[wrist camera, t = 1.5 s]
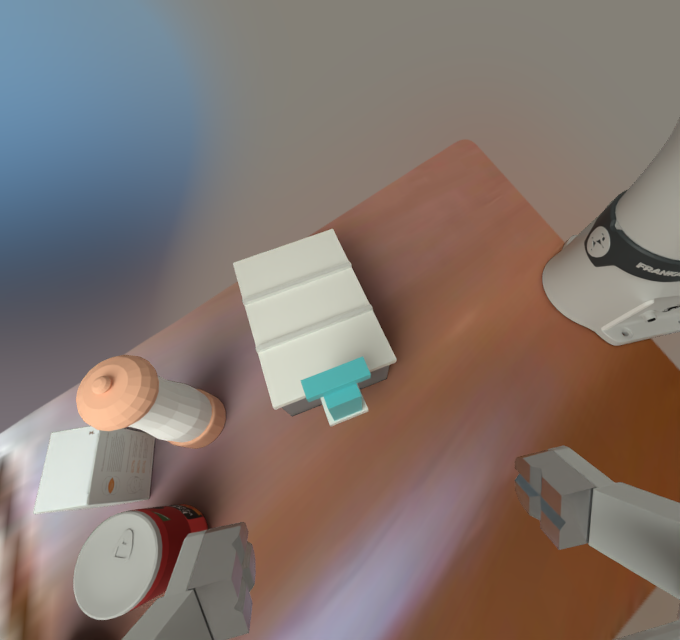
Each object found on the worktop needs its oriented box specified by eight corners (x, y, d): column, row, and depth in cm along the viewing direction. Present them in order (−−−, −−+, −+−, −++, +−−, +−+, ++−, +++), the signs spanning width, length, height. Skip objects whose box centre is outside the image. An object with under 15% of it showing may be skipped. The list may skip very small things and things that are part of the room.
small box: (117, 440, 45) (50, 430, 35) (157, 434, 45) (101, 421, 35) (106, 507, 41) (29, 515, 32) (150, 500, 41) (86, 506, 32)
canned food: (211, 498, 41) (161, 503, 31) (210, 577, 37) (154, 611, 27) (150, 510, 40) (81, 519, 31) (144, 590, 37) (63, 630, 27)
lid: (333, 233, 47) (326, 184, 40) (411, 393, 36) (423, 370, 29) (235, 267, 46) (208, 223, 38) (285, 445, 35) (262, 434, 27)
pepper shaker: (171, 404, 46) (56, 360, 29) (221, 386, 47) (136, 332, 30) (177, 457, 43) (51, 441, 26) (230, 436, 44) (142, 408, 27)
